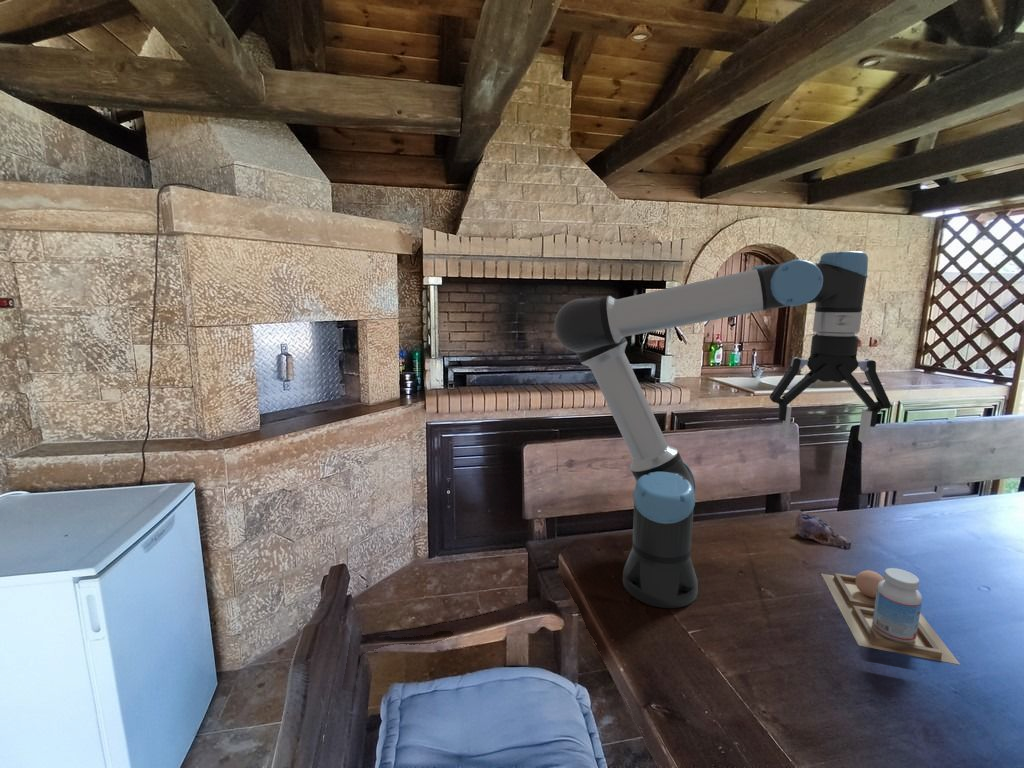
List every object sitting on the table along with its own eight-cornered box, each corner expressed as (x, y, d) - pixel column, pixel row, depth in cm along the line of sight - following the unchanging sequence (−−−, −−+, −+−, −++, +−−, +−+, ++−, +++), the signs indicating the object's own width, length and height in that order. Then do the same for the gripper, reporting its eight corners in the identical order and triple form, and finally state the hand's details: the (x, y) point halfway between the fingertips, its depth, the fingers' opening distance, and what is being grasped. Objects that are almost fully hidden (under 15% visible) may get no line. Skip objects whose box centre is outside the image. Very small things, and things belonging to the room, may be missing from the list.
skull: (855, 549, 112) (858, 525, 111) (839, 558, 109) (842, 534, 107) (803, 528, 123) (806, 507, 121) (787, 536, 119) (789, 514, 118)
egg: (859, 600, 92) (862, 577, 91) (850, 585, 97) (853, 563, 96) (889, 605, 90) (893, 582, 89) (879, 590, 95) (882, 567, 94)
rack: (857, 651, 81) (859, 640, 80) (820, 578, 101) (821, 569, 101) (959, 671, 76) (961, 659, 76) (898, 590, 97) (900, 581, 96)
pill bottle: (923, 647, 80) (934, 588, 78) (883, 642, 81) (892, 583, 79) (902, 622, 86) (911, 567, 83) (864, 618, 87) (872, 563, 85)
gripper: (766, 334, 91) (757, 438, 95) (923, 336, 83) (906, 450, 87) (760, 331, 98) (752, 428, 102) (904, 333, 90) (889, 438, 94)
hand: (822, 438), depth 95 cm, fingers open, 13 cm apart
